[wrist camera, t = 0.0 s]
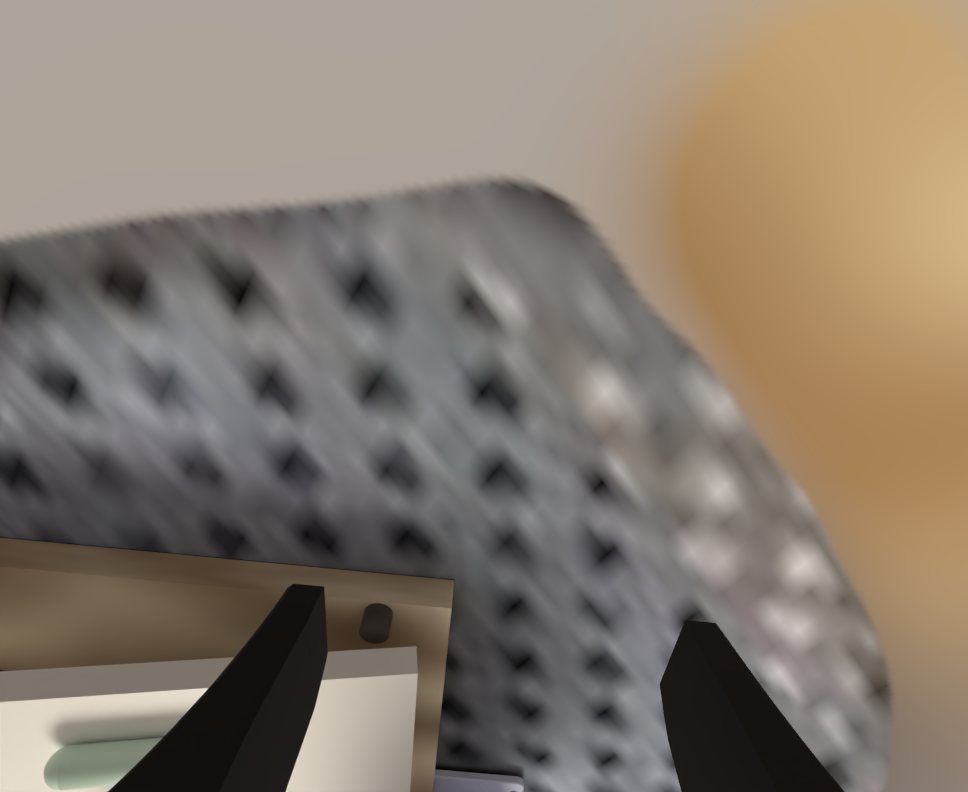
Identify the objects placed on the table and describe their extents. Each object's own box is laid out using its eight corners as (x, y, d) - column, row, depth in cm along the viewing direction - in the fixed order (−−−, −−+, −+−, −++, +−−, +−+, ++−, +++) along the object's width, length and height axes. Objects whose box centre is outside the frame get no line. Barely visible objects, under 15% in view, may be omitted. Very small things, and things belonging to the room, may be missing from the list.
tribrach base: (435, 769, 33) (426, 851, 29) (37, 735, 32) (-18, 814, 29) (454, 580, 25) (446, 660, 22) (-62, 531, 25) (-152, 605, 21)
